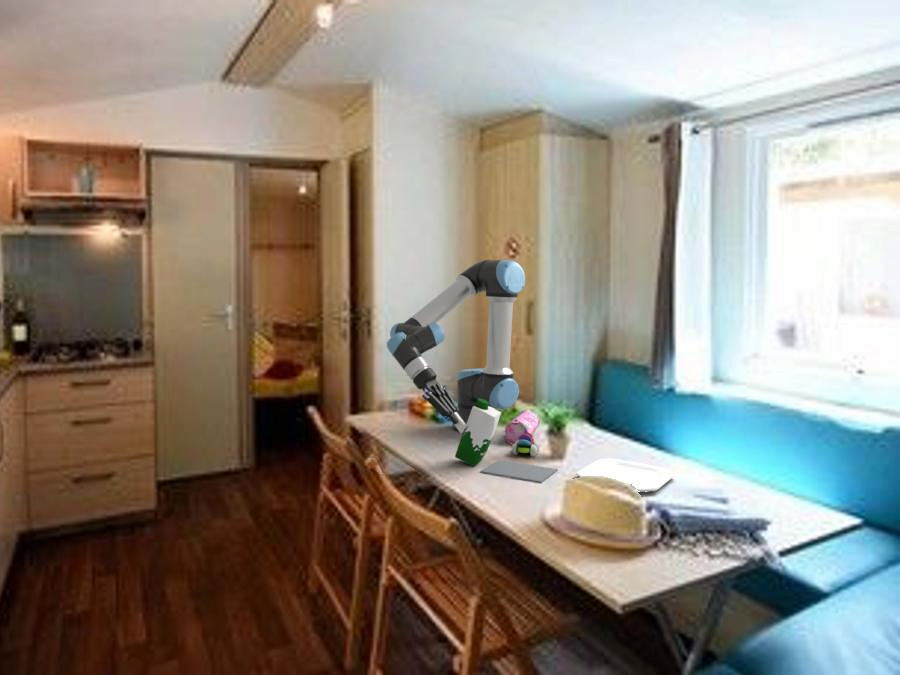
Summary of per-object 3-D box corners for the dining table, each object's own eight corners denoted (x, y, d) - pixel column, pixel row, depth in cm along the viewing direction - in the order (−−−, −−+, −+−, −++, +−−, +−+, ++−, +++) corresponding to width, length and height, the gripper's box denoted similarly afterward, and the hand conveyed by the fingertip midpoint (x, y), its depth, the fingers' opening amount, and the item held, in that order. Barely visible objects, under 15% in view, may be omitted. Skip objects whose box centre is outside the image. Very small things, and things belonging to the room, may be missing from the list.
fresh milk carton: (460, 449, 232) (481, 395, 227) (484, 461, 229) (506, 406, 224) (451, 456, 223) (472, 400, 219) (476, 469, 221) (498, 412, 216)
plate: (602, 462, 230) (602, 456, 229) (678, 477, 216) (679, 470, 215) (570, 482, 209) (570, 475, 209) (652, 499, 195) (652, 492, 195)
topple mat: (480, 472, 217) (480, 470, 216) (499, 461, 229) (499, 459, 229) (541, 483, 207) (541, 481, 207) (557, 470, 220) (557, 469, 219)
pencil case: (527, 446, 247) (528, 421, 246) (502, 444, 250) (503, 419, 249) (540, 432, 267) (541, 409, 266) (517, 430, 270) (518, 407, 269)
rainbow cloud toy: (540, 451, 241) (541, 430, 240) (534, 459, 232) (535, 437, 231) (516, 449, 244) (517, 428, 243) (509, 456, 235) (510, 435, 234)
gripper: (424, 377, 238) (466, 433, 232) (403, 383, 226) (447, 442, 220) (438, 363, 234) (481, 419, 229) (417, 369, 223) (462, 428, 217)
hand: (464, 430), depth 225 cm, fingers closed
